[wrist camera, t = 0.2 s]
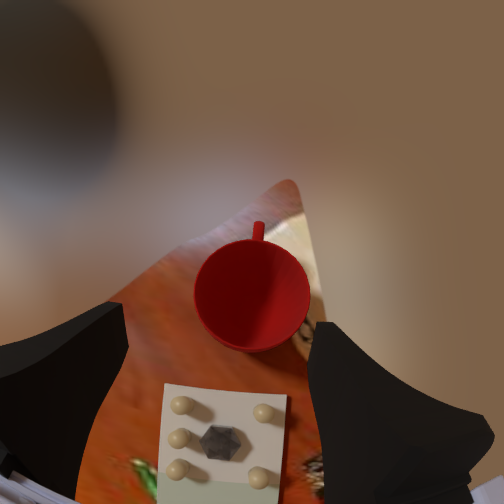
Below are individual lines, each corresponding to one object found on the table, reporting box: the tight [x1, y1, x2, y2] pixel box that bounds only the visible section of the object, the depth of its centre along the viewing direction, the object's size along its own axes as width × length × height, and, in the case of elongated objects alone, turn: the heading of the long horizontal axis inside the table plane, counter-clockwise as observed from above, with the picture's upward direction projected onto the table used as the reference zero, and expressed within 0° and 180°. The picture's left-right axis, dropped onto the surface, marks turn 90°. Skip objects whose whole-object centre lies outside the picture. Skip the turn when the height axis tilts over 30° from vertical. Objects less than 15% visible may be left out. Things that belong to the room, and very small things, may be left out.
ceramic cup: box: [193, 221, 310, 353], centre depth 38 cm, size 13×17×10 cm
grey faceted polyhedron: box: [199, 424, 241, 461], centre depth 32 cm, size 5×4×2 cm
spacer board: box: [157, 383, 287, 504], centre depth 31 cm, size 20×16×4 cm
